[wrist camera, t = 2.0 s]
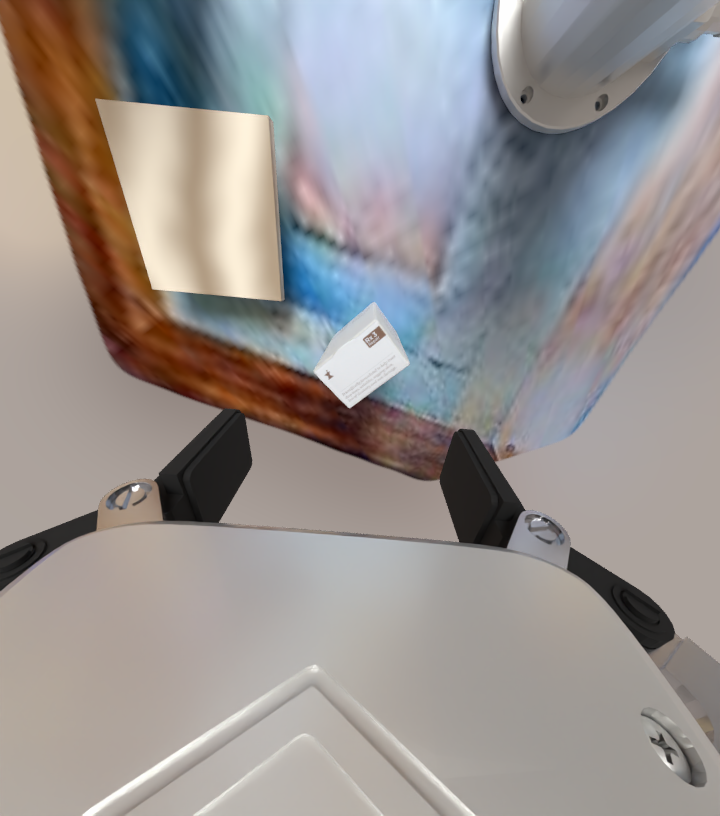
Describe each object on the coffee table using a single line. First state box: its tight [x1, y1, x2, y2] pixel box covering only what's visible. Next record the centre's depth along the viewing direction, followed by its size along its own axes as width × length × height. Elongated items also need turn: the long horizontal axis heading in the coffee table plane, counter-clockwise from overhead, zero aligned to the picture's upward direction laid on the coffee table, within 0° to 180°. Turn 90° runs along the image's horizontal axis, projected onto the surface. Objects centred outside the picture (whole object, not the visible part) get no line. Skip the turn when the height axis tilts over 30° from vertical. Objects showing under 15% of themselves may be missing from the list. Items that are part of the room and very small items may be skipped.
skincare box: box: [314, 302, 410, 408], centre depth 23 cm, size 6×4×12 cm
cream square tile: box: [95, 99, 285, 301], centre depth 22 cm, size 12×12×4 cm
